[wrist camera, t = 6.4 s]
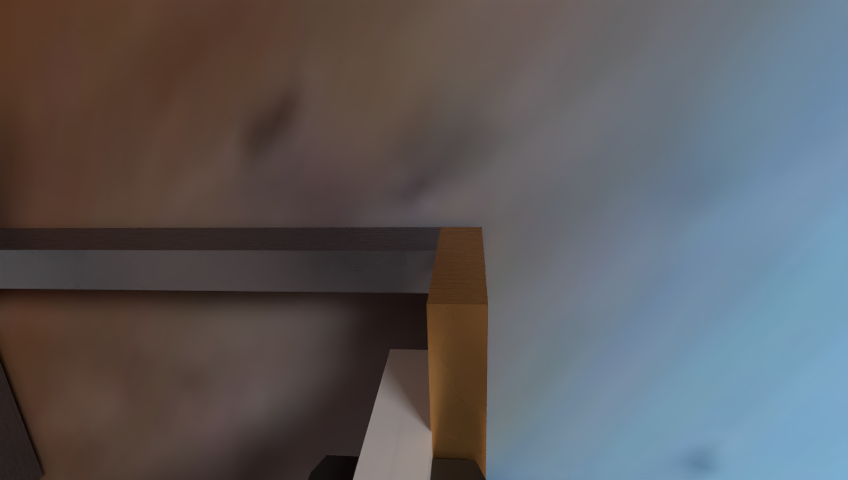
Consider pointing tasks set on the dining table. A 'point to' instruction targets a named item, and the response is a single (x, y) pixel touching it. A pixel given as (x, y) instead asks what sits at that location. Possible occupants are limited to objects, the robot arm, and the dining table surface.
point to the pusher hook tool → (280, 272)
